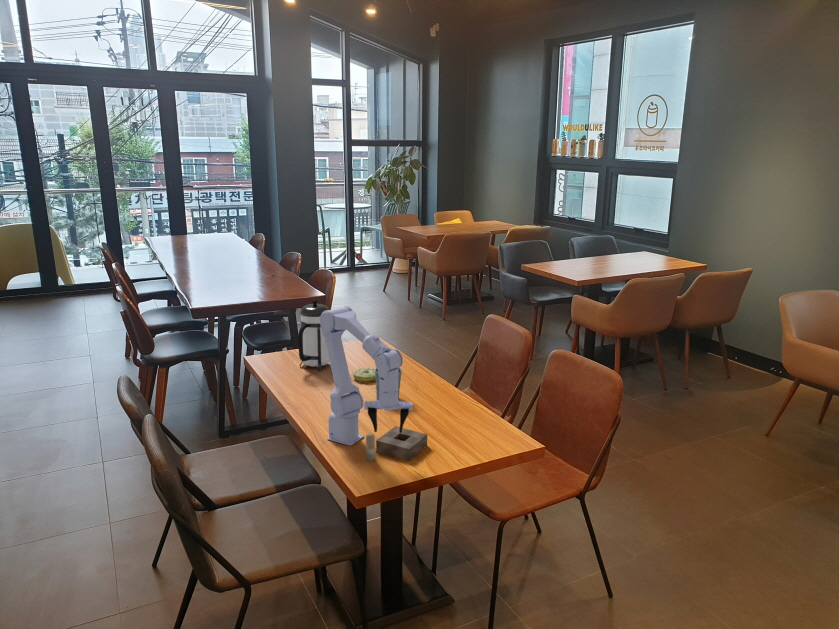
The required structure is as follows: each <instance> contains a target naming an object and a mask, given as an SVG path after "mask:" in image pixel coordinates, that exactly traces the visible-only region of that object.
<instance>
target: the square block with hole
mask: <svg viewBox="0 0 839 629" xmlns="http://www.w3.org/2000/svg"><path fill="white" fill-rule="evenodd" d="M399 430H400V426H396V425H395V426H394V427H392V428H391V429H390V430H388V431H387V432H385V433H384V434H383V435H381V436H379V438H377V439H376V441H375V453H379V454H382V455H386V456H389V457H392V458H393V457H394V458H397V459H400V460H405V461H407V460H408V462H411V460H412V459H413V458H415V455H416V456H417V455H418V454H419V453H420V452H422V449H423V448H424V447H425V448H427V446H428V434H427V433H423V432H421V431H417V430H416V431H415V430H412V429H408V428H402V433H399ZM425 448H424V449H425ZM424 449H423V450H424Z"/></svg>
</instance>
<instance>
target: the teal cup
mask: <svg viewBox="0 0 839 629" xmlns="http://www.w3.org/2000/svg"><path fill="white" fill-rule="evenodd" d="M397 369H398V401H400V389H401V379H402V373H403V372H402V368H401V367H399V368H397ZM374 370H375V378H376V381H375V390H376V392H375V393H376V400H379V376H378V370H377V368H376V367H375V369H374Z"/></svg>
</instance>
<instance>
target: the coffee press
mask: <svg viewBox="0 0 839 629" xmlns="http://www.w3.org/2000/svg"><path fill="white" fill-rule="evenodd" d="M311 302H312V303H310V304H305V305H303V307H302V308H301V309H300V311H299V314H300V327H299V331H298V335H297V336H298V356H299V357H298V358H299V360H300V361H301V362H300V364H299V368H300V369H302V368H301V367H303V368H304V367H305V366H308V367H312V368H313V367H317V370H319V371H318V372H321V371H320V370H322V371H323V367H322V366H327V365H328V364H330V361H329V357H328V352H327V348H326V344H325V339H324V336H323V334H322V330H321V325H320V321H319V318H320V316H321V314H322V312H323V311H328V310H330V309H329V307H328V306H327V305H326V304H322V303H318V300H317V299H313V300H312V301H311ZM302 364H303V365H302Z"/></svg>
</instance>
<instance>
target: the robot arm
mask: <svg viewBox="0 0 839 629" xmlns="http://www.w3.org/2000/svg"><path fill="white" fill-rule="evenodd" d="M319 321H320V325H321V330H322V334H323V336H324V339H325V344H326V348H327V352H328V357H329V361H330V362H329V364H330V369H331V372H332V373H331V374H332V377H333V382H334V386H335V387H334V389H333V390H332V391H331V393H330V394H329V398H330V409H331V413H330V415H329V417H328V437H327V440H329V441H330V442H331V441H332V442H336V443H339V444H343V445H347V446H351V447H352V446H353V445H354V444H356V443H357V442H359V441H360V440H362V439H363V438H364V437H365V435H364V434H360V433H359V431H360V430H359V429H360V428H359V414H360V413H361V410H362V409H363V407H364V410H367V415H368V417H369V419H370V421H371V423H372V426H373V430H374V433H377V431H378V410H383V411H391V410H394V411H396V410H398V411H399V410H400V413H399V419H400V420H399V427H400V430H399V433H402V428H403V427H404V424H405V423H406V420H407V419H408V416H409V413H410V412H412V411H413V405H414V404H413V402H407V401H403V400H398V369H397V368H401V367H402V366H403V363H404V362H403V361H404V360H403V356H402V354H401V352H400V351H399V350H398V349H396V348H392V347H389V346H388V345H387V344H386V343H385V342H384V341H383V340H381V339H380V336H379V335H376V334H370V333H369V331H368V330H367V329H366V328H365V327H364V326H363V325H362V324H361V322H360V321H359V320H358V319H357V314H356V312H355V311H354V310H353V309H352V308H351V307H350V306H347V305H346V306H343V307H337V308H333V309H329V310H328V311H323V312H322V314H321V316H320V318H319ZM345 331H347V332H349V333H350V334H351V335H352V336H354V337H355V338H356V339H357V340H358V341H360V343H362V349H363V351H364V352H366V354H368V356H370V358H372V360H374V364H375V365H374V366H375V369H376V368H377V370H378V376H379V400H377V399H376V400H370V401H369V400H366V401H364V397H363V396H362V393H361V392H360V388H359V387H358V386H357V385H355V384H353V383H352V379H351V374H350V372H349V366H348V363H347V362H348V361H347V358H346V353H345V349H344V345H343V340H342V336H343V334H344V333H345Z"/></svg>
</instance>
